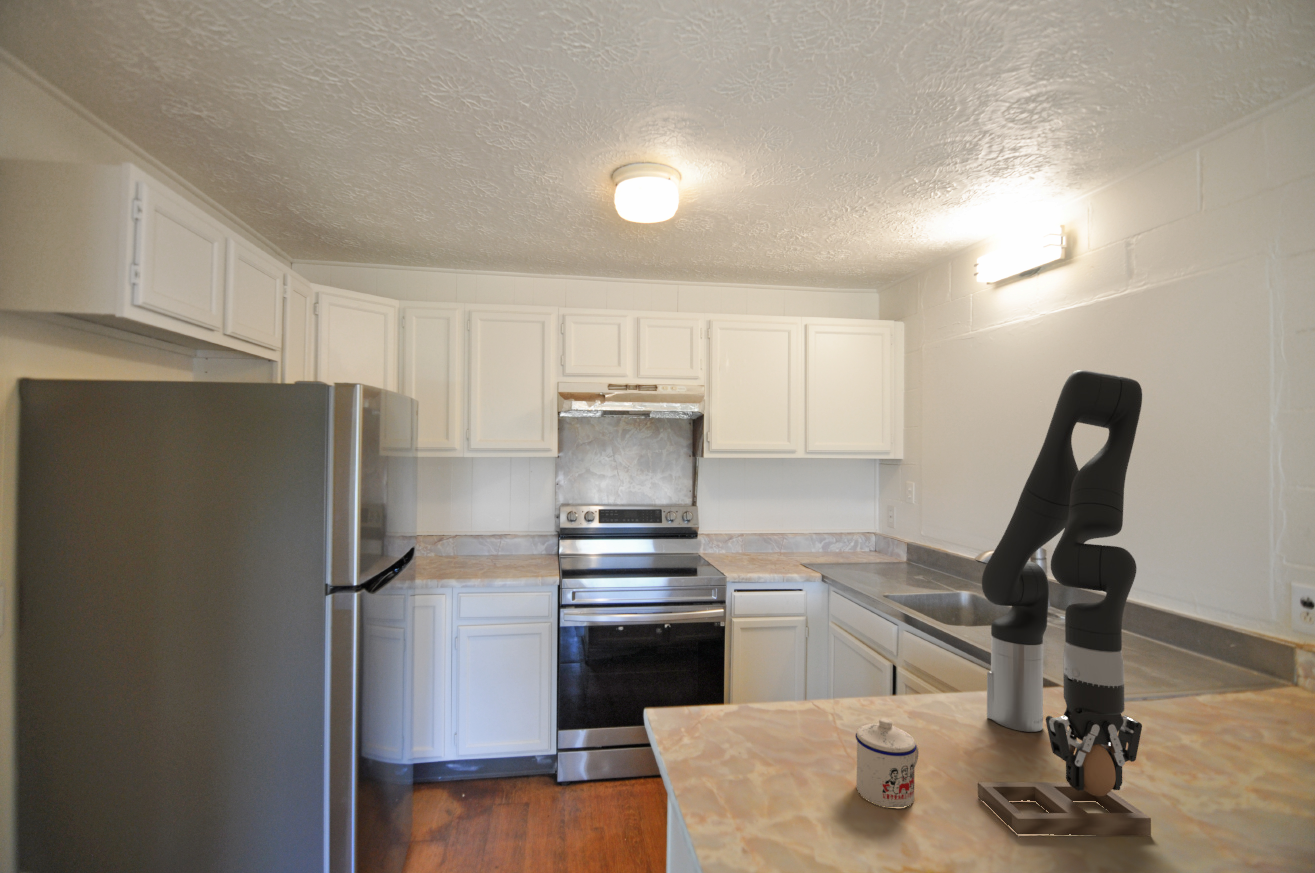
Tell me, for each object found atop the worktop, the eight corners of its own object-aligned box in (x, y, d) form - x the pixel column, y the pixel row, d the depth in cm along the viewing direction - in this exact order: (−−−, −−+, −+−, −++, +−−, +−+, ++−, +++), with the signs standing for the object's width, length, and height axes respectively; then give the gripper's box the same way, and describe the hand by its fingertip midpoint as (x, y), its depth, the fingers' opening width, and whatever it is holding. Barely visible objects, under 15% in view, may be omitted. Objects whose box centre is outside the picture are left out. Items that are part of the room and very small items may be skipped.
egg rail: (1017, 836, 84) (1017, 818, 84) (977, 798, 93) (978, 782, 93) (1151, 835, 85) (1150, 817, 85) (1098, 797, 94) (1098, 781, 95)
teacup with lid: (888, 817, 88) (889, 737, 88) (842, 786, 96) (843, 714, 96) (940, 797, 93) (941, 722, 94) (893, 770, 101) (894, 701, 102)
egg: (1124, 801, 88) (1124, 747, 88) (1099, 806, 86) (1098, 751, 87) (1090, 783, 93) (1089, 731, 93) (1065, 787, 91) (1065, 735, 92)
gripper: (1116, 666, 95) (1117, 774, 94) (1031, 665, 94) (1031, 774, 93) (1159, 683, 87) (1160, 801, 86) (1067, 683, 86) (1067, 802, 85)
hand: (1093, 786), depth 90 cm, fingers closed on egg, 5 cm apart
